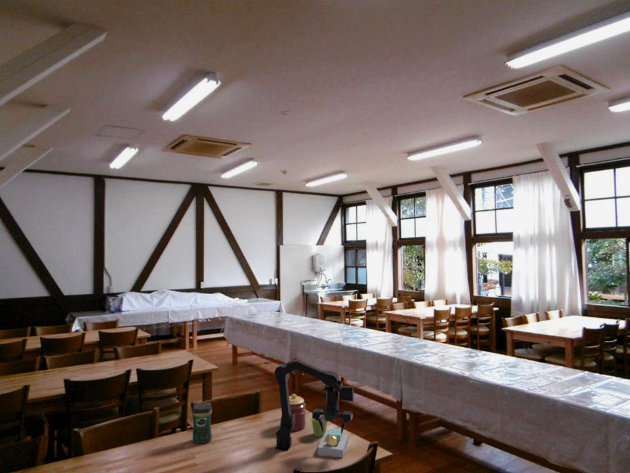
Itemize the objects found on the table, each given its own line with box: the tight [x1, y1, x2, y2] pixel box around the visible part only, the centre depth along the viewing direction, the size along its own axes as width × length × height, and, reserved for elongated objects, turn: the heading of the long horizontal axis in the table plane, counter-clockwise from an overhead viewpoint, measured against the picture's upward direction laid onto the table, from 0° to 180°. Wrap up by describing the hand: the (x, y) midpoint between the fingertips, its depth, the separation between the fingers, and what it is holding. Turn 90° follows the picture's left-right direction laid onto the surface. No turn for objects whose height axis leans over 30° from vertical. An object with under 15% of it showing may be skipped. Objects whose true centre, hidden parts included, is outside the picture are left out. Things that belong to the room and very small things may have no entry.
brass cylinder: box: [327, 435, 337, 447], centre depth 206 cm, size 4×4×7 cm
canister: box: [289, 393, 307, 432], centre depth 236 cm, size 13×13×18 cm
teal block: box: [327, 428, 344, 441], centre depth 213 cm, size 6×7×2 cm
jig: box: [317, 432, 350, 459], centre depth 210 cm, size 12×17×4 cm
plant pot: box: [310, 416, 329, 438], centre depth 225 cm, size 9×9×9 cm
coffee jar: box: [191, 402, 213, 445], centre depth 218 cm, size 10×8×19 cm
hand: (332, 433), depth 206 cm, fingers open, 9 cm apart
